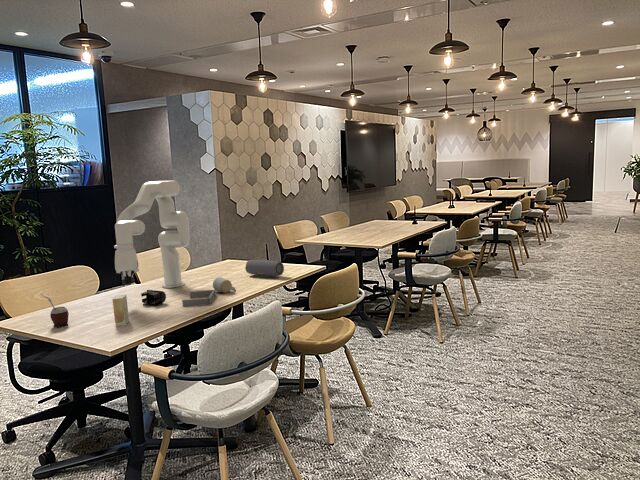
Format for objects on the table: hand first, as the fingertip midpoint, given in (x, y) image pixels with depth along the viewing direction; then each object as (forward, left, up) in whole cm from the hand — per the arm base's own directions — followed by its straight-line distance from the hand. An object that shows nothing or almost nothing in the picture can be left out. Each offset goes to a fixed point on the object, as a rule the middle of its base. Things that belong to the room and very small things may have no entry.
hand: (128, 284), depth 251 cm
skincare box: (+31, +6, -11) cm, 34 cm away
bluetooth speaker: (-50, +63, -11) cm, 81 cm away
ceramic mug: (-17, +44, -11) cm, 49 cm away
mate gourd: (+28, -22, -11) cm, 38 cm away
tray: (-1, +33, -11) cm, 35 cm away
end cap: (-1, +11, -11) cm, 16 cm away
